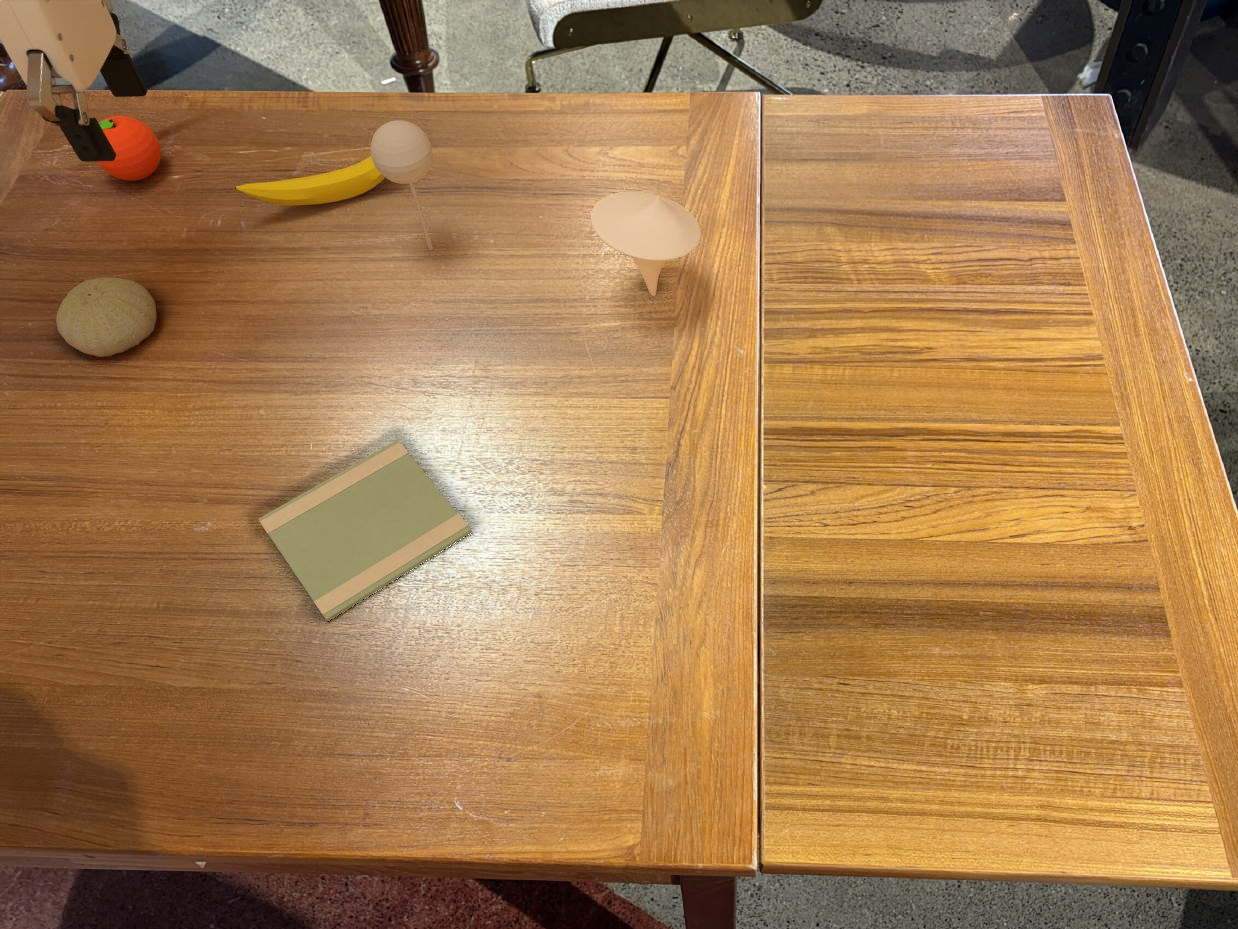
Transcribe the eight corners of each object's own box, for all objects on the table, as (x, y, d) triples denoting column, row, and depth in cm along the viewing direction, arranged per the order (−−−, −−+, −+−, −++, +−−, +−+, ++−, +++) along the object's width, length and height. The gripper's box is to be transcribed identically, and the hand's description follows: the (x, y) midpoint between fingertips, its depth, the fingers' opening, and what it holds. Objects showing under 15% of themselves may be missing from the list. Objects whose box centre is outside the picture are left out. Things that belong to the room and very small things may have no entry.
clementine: (107, 204, 114) (73, 150, 108) (94, 171, 118) (61, 116, 112) (178, 180, 116) (149, 126, 110) (163, 148, 120) (134, 94, 114)
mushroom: (677, 249, 108) (673, 152, 98) (718, 314, 103) (718, 219, 93) (586, 277, 106) (572, 181, 96) (623, 345, 101) (612, 251, 91)
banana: (250, 216, 113) (227, 168, 107) (415, 168, 117) (400, 120, 112) (255, 232, 111) (232, 184, 106) (422, 183, 115) (407, 134, 110)
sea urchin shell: (85, 369, 97) (30, 295, 95) (92, 376, 104) (41, 308, 102) (174, 323, 101) (122, 250, 98) (175, 333, 108) (126, 265, 105)
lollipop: (397, 238, 110) (356, 116, 98) (449, 224, 111) (415, 100, 99) (411, 274, 107) (370, 152, 94) (465, 259, 108) (432, 136, 96)
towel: (328, 622, 84) (325, 618, 83) (260, 522, 89) (257, 518, 89) (472, 533, 88) (470, 528, 88) (399, 443, 94) (397, 438, 94)
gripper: (1, -118, 84) (104, 73, 98) (-85, -7, 74) (43, 187, 89) (91, -120, 84) (181, 71, 98) (17, -9, 74) (128, 185, 89)
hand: (115, 126), depth 93 cm, fingers open, 9 cm apart
